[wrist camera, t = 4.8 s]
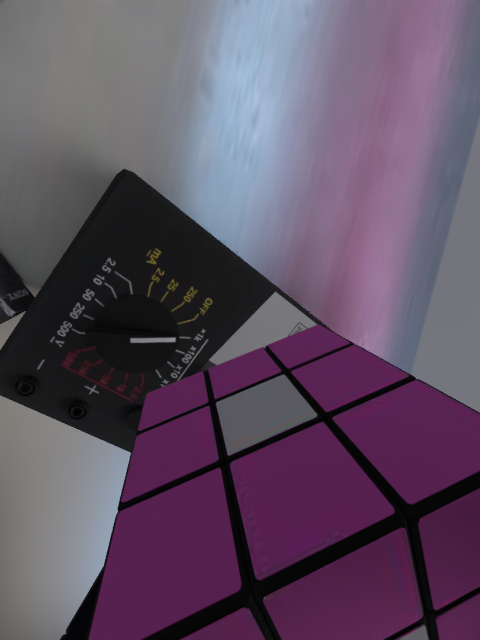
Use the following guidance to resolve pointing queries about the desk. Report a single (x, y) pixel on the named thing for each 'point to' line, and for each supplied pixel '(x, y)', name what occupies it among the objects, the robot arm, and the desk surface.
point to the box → (12, 293)
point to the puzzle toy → (297, 505)
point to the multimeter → (137, 314)
